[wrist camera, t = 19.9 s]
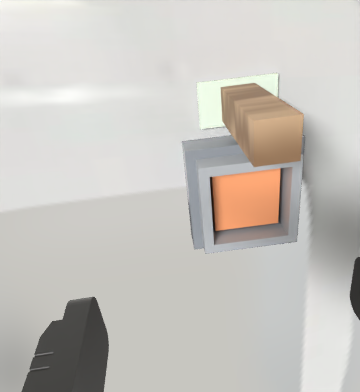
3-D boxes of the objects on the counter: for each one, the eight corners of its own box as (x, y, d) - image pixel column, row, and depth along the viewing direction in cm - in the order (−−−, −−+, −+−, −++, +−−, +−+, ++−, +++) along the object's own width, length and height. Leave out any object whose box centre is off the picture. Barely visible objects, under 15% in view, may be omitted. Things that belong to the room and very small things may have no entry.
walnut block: (220, 87, 33) (253, 120, 23) (254, 82, 33) (303, 114, 23) (222, 121, 35) (253, 167, 24) (255, 116, 35) (300, 160, 24)
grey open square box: (181, 141, 36) (186, 160, 31) (293, 127, 36) (314, 144, 32) (191, 234, 42) (196, 262, 37) (288, 222, 42) (305, 248, 37)
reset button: (207, 162, 37) (211, 173, 34) (271, 154, 37) (280, 164, 34) (211, 216, 40) (215, 230, 37) (269, 209, 40) (278, 222, 38)
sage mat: (196, 82, 33) (196, 83, 33) (277, 72, 33) (278, 73, 33) (199, 128, 35) (200, 129, 35) (275, 118, 36) (276, 119, 35)
